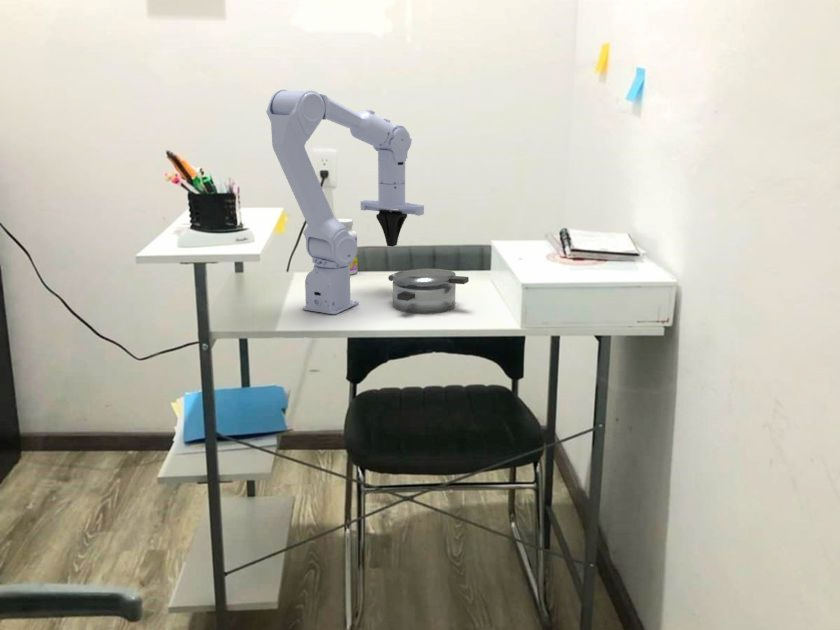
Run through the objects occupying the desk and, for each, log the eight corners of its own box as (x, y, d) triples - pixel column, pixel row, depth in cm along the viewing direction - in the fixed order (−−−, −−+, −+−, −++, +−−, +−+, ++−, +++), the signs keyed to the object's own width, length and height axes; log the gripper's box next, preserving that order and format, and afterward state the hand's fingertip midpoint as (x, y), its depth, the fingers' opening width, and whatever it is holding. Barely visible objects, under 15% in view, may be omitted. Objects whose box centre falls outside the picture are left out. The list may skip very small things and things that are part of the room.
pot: (431, 320, 158) (432, 296, 157) (374, 311, 164) (374, 288, 163) (470, 298, 174) (471, 276, 173) (417, 291, 180) (417, 269, 179)
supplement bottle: (356, 276, 193) (355, 222, 189) (328, 276, 193) (326, 222, 189) (358, 269, 199) (358, 217, 196) (331, 269, 199) (330, 217, 196)
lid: (452, 290, 158) (452, 284, 158) (378, 285, 165) (378, 279, 165) (479, 276, 169) (478, 271, 169) (408, 271, 177) (408, 266, 176)
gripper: (430, 182, 173) (430, 245, 176) (371, 178, 179) (372, 239, 183) (415, 186, 167) (414, 251, 170) (355, 182, 173) (356, 244, 177)
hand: (391, 245), depth 176 cm, fingers closed
